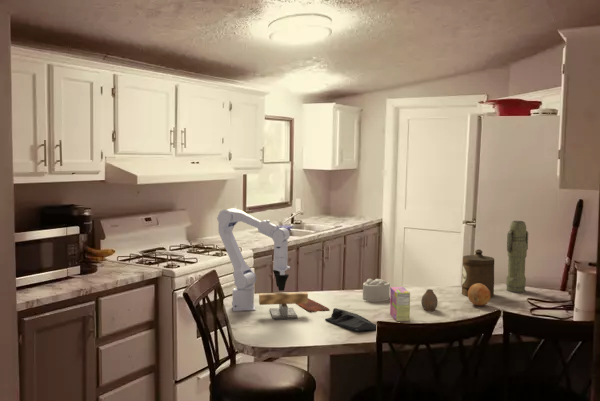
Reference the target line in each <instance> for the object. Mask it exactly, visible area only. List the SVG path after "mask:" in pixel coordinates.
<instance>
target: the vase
mask: <svg viewBox="0 0 600 401" xmlns="http://www.w3.org/2000/svg"><path fill="white" fill-rule="evenodd" d="M438 303H439V301H438V297H437V295H436V294H435V292H434V290H433V289H432V288H431V289H430V288H428V289H426V291H425V292H424V293H423V295H422V296H421V307H422V309H424V310H425V311H427V312H433V311H435V310H436V309H437V307H438Z"/></svg>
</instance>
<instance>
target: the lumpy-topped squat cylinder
mask: <svg viewBox="0 0 600 401" xmlns="http://www.w3.org/2000/svg"><path fill="white" fill-rule="evenodd" d="M390 287H391V286H390V282H388V281H386V280H385V279H380V278H375V279H372V278H367V280H366V281H364V282H363V284H362V300H363V301H365V300H366V302H382V301H387V300H390Z"/></svg>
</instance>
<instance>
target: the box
mask: <svg viewBox="0 0 600 401" xmlns="http://www.w3.org/2000/svg"><path fill="white" fill-rule="evenodd" d="M389 303H390V304H389V305H390V306H389V307H390V308H389V312H390V313H389V314H390V316H391V317H392V318H393V319H394V320H395V322H410V321H411V320H410V319H411V316H410V314H411V312H410V311H411V292H410V291H409V290H407V289H406V288H405V286H390V298H389Z"/></svg>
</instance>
